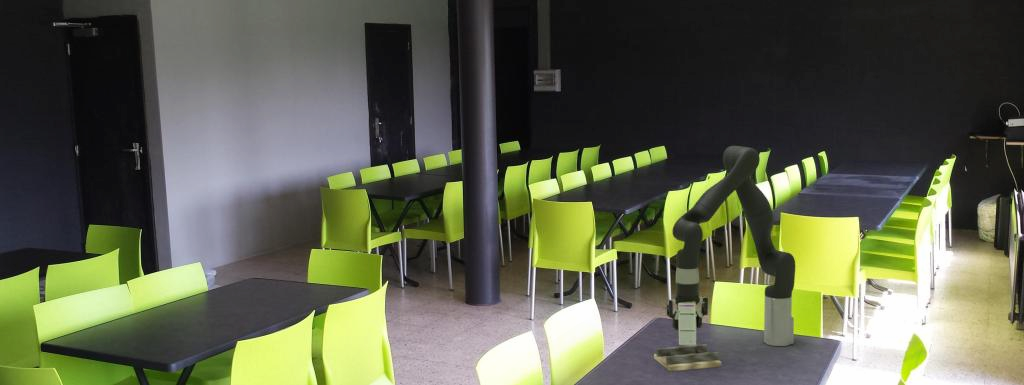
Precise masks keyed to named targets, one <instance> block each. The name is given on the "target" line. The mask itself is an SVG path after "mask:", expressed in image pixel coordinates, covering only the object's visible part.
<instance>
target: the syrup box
mask: <svg viewBox="0 0 1024 385" xmlns="http://www.w3.org/2000/svg"><path fill="white" fill-rule="evenodd" d="M679 310H680V313H678V325H679V329H678V345H680V346H691V345H697V327H696V316H697V315H696V305H695V301H694V302H691V301H688V302H681V303H678V312H679Z"/></svg>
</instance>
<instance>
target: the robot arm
mask: <svg viewBox="0 0 1024 385" xmlns="http://www.w3.org/2000/svg"><path fill="white" fill-rule="evenodd" d="M760 159H761V157H760V154H759V152H758V151H757V150H756V149H754V148H753V147H748V146H739V145H731V146H728V147H726V149H724V151H723V155H722V164H723V168H724V169H725V171H726V174H727V175H725V176H724V177H723V178H721V179H720V180H719V181H717V182H716V183H714V184H713V185H712V186H710V187H709V188H708V189H706V190H705V191H704V193H702V195H701V196H700V197H699V198H698V199H697V201H696V202H695V204H694V205H693V206H692V207H691V208H690V209H689V210H687V211H686V212H685V213H684V214H682V215H681V216H680V217H679V218H678V219H677V220H676V221H675V223H674V224H673V227H672V230H671V231H672V232H671V233H672V236H673V238H675V239H676V240H678V241H680V242H683V248H681V249H679V250H677V253H676V269H675V270H676V271H675V298H673V299H669V298H668V299H666V316H667V318H669V319H672V328H673V329H674V331H679V325H678V313H680V310H679V312H678V303H681V302H688V301H691V302H694V301H695V305H696V329H701V328H702V326H703V317H704V316H708V315H709V314H708V312H709V298H708V297H706V296H705V295H703V296H699V294H700V288H699V287H700V272H699V271H700V270H699V254H700V251H701V247H702V244H703V242H702V241H703V238H704V233H703V229H702V226H701V225H700V224H704V223H708V222H710V221H711V219H712V218H713V217H714V215H715V214H716V213H717V211H718V210H719V209H720V207H721V206H722V205H723V204H724V202H725V201H726V200H727V199H728V198H729V197H730V196H731V195H732V194H733V193H734V192H736V195H737V198H738V200H739V203H740V205H741V209H742V212H743V215H744V218H745V221H746V222H747V226H748V228H749V231H750V233H751V237H752V239H753V243H754V247H755V250H756V255H757V259H758V263H759V267H760V269H761V271H762V272H763V273H764V274H766V275H768V276H771V277H774V283H773V284H771V285H767V286H765V288H764V320H763V322H764V323H763V324H764V325H763V326H764V328H763V331H764V332H763V342H764V344H766V345H768V346H772V347H787V346H790V345H793V344H794V339H795V338H794V334H795V333H794V330H795V326H794V325H795V318H794V317H793V316H792V314H793V313H792V308H793V307H792V306H793V304H792V303H793V300H792V299H793V290H794V289H795V278H796V259H795V257H794V255H793V254H792V253H790V252H788V251H787V252H786V251H783V250H778V249H776V247H775V246H774V243H773V240H772V230H773V227H774V223H775V215H774V213H773V210H772V206H771V204H770V202H769V200H768V198H767V197H766V195H765V194H764V192H762V190H761V189H760V188H759V187H758V185H757V184H756V183H755V182H754V181H753V179H752V177H751V175H753V174H754V173H755V171H756V170H757V168H758V167H759V165H760ZM699 303H700V304H701V305H700V306H701V309H700V308H699V307H698V304H699ZM675 304H676V307H675V308H674V306H675Z"/></svg>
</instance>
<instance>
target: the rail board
mask: <svg viewBox="0 0 1024 385" xmlns="http://www.w3.org/2000/svg"><path fill="white" fill-rule="evenodd" d="M719 353H720V352H718V351H713V352H708V344H707V343H705V344H704V343H703V344H696V345H680V346H673V347H670V346H669V347H661V348H656V352H655V353H653V358H654V360H656V362H658V363H659V364H660V365H661V366H663V367H664V368H665V369H666V370H667V371H669V372H675V371H677V372H678V371H679V372H680V371H687V370H696V369H697V370H698V369H707V368H718V367H719V368H721V367H722V361H720V360H719Z"/></svg>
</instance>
